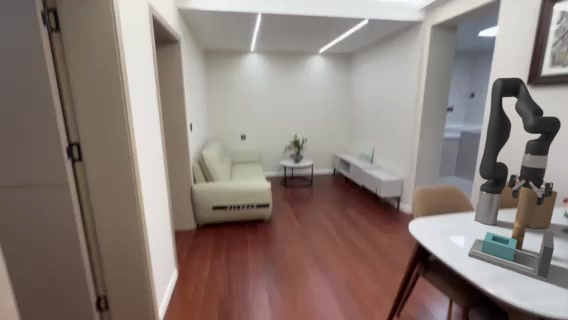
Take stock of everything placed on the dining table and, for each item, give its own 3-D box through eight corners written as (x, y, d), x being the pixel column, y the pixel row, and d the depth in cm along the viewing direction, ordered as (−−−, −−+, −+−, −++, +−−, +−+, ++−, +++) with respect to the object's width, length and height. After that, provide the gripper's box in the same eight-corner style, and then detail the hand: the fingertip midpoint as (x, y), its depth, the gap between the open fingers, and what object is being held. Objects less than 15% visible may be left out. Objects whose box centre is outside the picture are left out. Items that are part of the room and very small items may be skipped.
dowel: (509, 248, 116) (514, 222, 113) (510, 245, 118) (515, 219, 116) (521, 252, 113) (526, 224, 110) (521, 248, 116) (527, 221, 113)
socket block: (481, 253, 110) (483, 240, 108) (485, 243, 117) (487, 231, 115) (512, 263, 103) (515, 249, 102) (514, 252, 110) (517, 239, 108)
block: (530, 229, 133) (538, 192, 128) (513, 220, 143) (520, 185, 138) (550, 228, 133) (558, 191, 128) (532, 220, 143) (539, 185, 138)
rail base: (468, 256, 111) (472, 227, 108) (475, 241, 122) (479, 215, 119) (546, 282, 94) (554, 248, 91) (546, 262, 105) (553, 232, 102)
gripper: (508, 162, 113) (502, 197, 117) (549, 169, 100) (540, 209, 103) (520, 160, 115) (513, 195, 119) (561, 168, 102) (553, 206, 105)
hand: (526, 201), depth 111 cm, fingers open, 8 cm apart
